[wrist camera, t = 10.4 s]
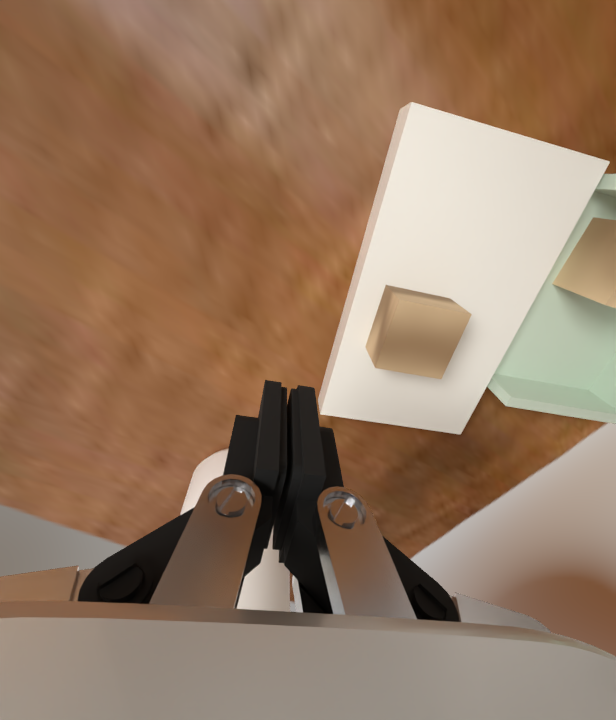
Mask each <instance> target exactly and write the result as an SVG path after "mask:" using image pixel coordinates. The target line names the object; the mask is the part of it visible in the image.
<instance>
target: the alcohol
mask: <svg viewBox="0 0 616 720" xmlns="http://www.w3.org/2000/svg"><path fill="white" fill-rule="evenodd" d="M228 450H229V448H226V449H223V450H220V451H218V452H216V453H214V454H213V455H211V456H209V457H208V458H206V459H205V460H203V461H202V462H201V463H200V464H199V465H198V466H197V468H196V469H195V471H194V473H193V476H192V479H191V482H190V485H189V488H188V492H187V495H186V498H185V501H184V504H183V508H182V511H181V514H180V515H182V514H184V513H185V512H187V511H189V510H190V509H192V508H194V507H195V506H196V504H197V502H198V499H199V497H200V495H201V493H202V491H203V489H204V488H205V487H206V485H207V484H208V483H209V482H210V481H212V480H213V479H215V478H217V477H220V476H222V475H223V472H224V468H225V463H226V459H227V454H228ZM272 545H273V528H272V532H271V536H270V540H269V544H268V548H267V549H264V551H263V555H262V559H261V563H260V564H259V565H258V566H257V567H255V568H254V569H253V570H252V571H251V572H250V573H249V574H247V575H246V576H245V578H244V582H243V586H242V590H241V594H240V598H239V602H238V606H237V609H250V610H268V611H286V612H290V571H289V570H288V569H287V568H286V567H285V565H284V563H279V550H273V547H272Z"/></svg>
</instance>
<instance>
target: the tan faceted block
mask: <svg viewBox="0 0 616 720" xmlns="http://www.w3.org/2000/svg"><path fill="white" fill-rule="evenodd" d="M552 284H554V285H556V286H559V287H561V288H564V289H566V290H569V291H571V292H574V293H576V294H579V295H581V296H584V297H586V298H589V299H591V300H594V301H596V302H599V303H601V304H604V305H607V306H610V307H613V308H616V220H610V219H603V218H595V217H593V219H592V220H591V222H590V223H589V225H588V227H587V228H586V230H585V232H584V233H583V235H582V236H581V238H580V240H579V241H578V243H577V244H576V246H575V248H574V249H573V251H572V253H571V254H570V256H569V257H568V259H567V261H566V262H565V264H564V265H563V267H562V269H561V270H560V272H559V274H558V275H557V277H556V278H555V280H554V282H553V283H552Z"/></svg>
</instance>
